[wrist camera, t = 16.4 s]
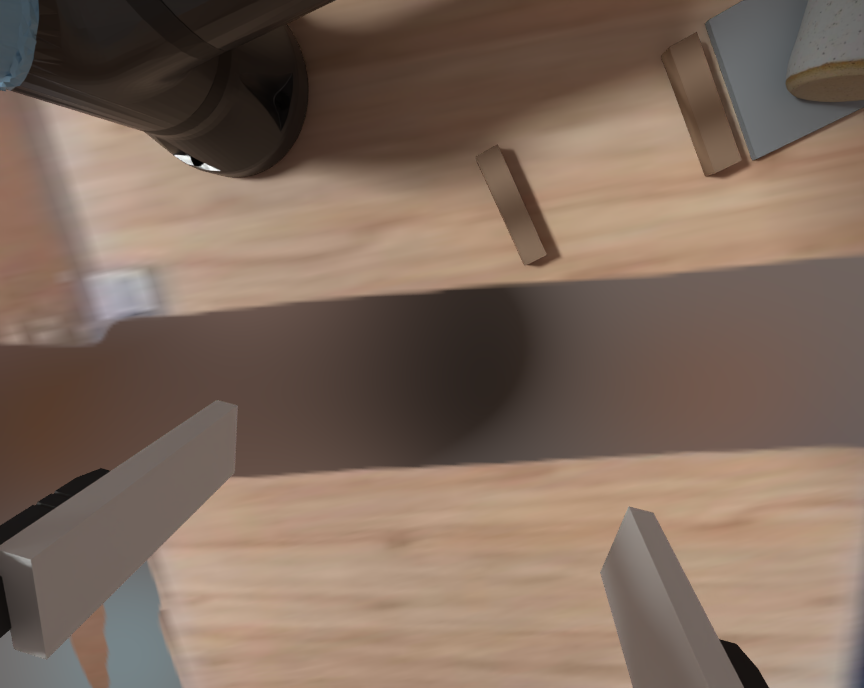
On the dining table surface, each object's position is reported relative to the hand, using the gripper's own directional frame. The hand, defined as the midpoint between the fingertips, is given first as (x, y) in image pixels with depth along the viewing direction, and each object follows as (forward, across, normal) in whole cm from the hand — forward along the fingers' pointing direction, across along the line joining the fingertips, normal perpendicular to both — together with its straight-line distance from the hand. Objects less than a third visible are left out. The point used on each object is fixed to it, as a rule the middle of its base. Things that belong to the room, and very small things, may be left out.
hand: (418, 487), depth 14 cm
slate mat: (+29, +21, +25) cm, 44 cm away
